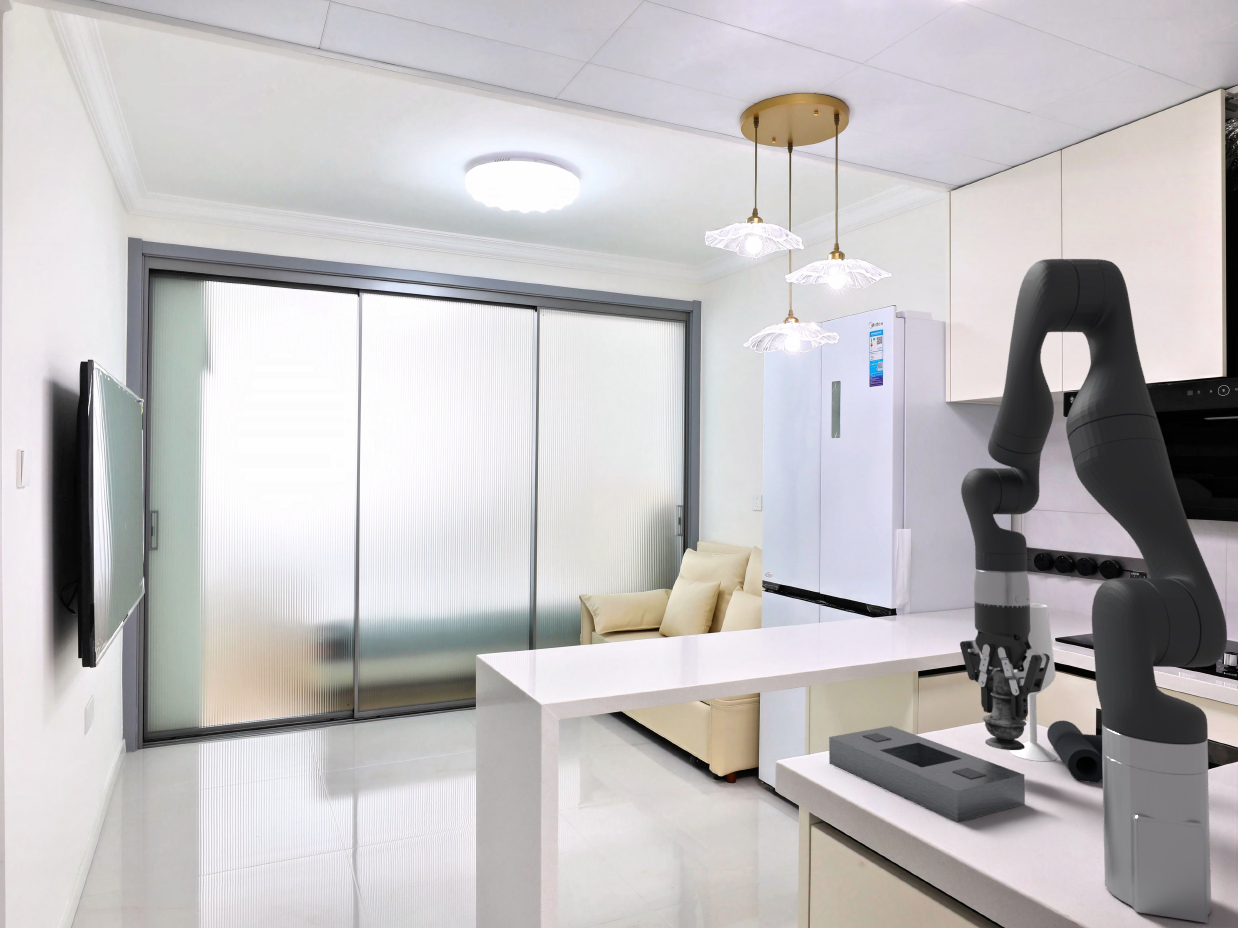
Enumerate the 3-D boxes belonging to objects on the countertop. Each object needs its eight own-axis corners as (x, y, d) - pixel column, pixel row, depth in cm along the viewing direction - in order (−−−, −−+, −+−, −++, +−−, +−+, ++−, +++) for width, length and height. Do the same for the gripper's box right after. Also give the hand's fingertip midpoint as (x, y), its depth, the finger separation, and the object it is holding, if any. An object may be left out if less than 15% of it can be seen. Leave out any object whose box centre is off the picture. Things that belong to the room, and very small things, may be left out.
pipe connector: (1126, 723, 125) (1157, 753, 111) (1127, 756, 125) (1159, 791, 111) (1046, 718, 129) (1067, 746, 115) (1047, 750, 129) (1068, 782, 114)
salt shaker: (1008, 752, 112) (1006, 668, 112) (974, 741, 117) (972, 661, 118) (1036, 747, 114) (1034, 665, 115) (1001, 736, 119) (1000, 658, 120)
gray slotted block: (1024, 804, 105) (1024, 773, 105) (957, 822, 99) (957, 789, 100) (891, 750, 127) (890, 725, 127) (829, 762, 121) (829, 736, 121)
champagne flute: (1007, 744, 130) (1006, 601, 130) (1053, 750, 127) (1051, 603, 128) (1011, 757, 123) (1009, 606, 124) (1059, 763, 121) (1057, 609, 122)
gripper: (1062, 604, 112) (1065, 725, 111) (978, 594, 125) (980, 701, 124) (1028, 607, 109) (1031, 731, 108) (945, 596, 121) (947, 707, 120)
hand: (1004, 715), depth 116 cm, fingers closed on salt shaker, 4 cm apart
